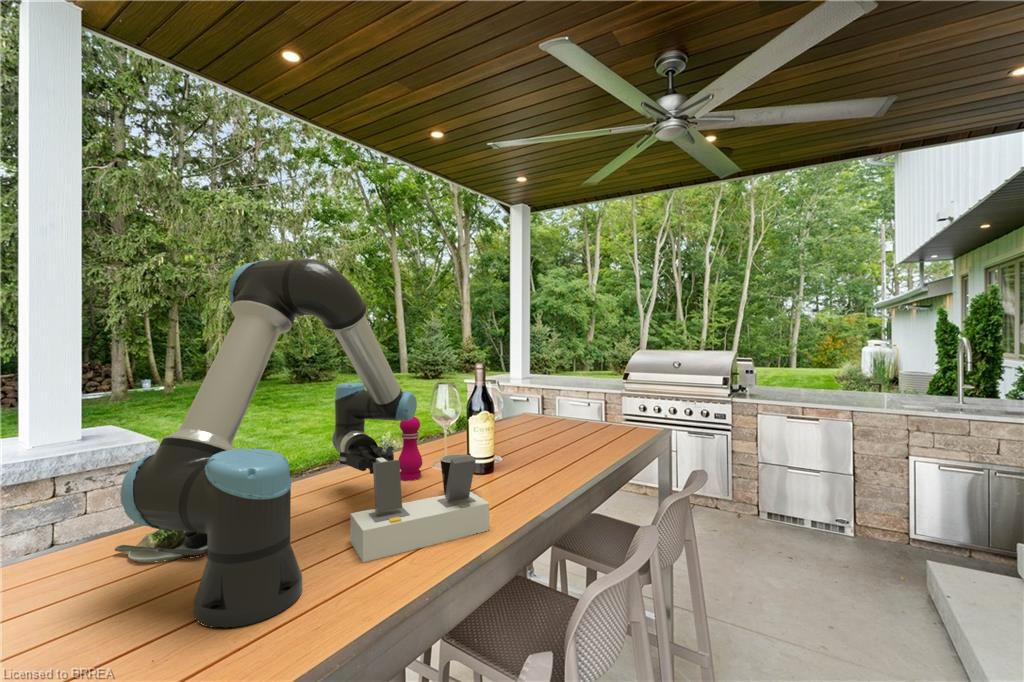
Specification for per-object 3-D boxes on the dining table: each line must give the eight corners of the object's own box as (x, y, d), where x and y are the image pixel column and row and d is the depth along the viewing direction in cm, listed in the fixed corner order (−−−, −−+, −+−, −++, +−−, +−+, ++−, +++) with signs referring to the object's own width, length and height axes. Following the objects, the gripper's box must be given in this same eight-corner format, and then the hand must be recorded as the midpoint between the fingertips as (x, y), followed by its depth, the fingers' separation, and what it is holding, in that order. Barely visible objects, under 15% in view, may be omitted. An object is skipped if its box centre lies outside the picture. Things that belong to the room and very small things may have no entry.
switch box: (363, 562, 87) (362, 528, 87) (350, 542, 96) (350, 511, 96) (489, 530, 101) (489, 500, 101) (468, 515, 110) (468, 488, 110)
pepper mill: (403, 473, 144) (402, 408, 144) (425, 474, 143) (425, 409, 143) (394, 480, 137) (393, 412, 136) (417, 481, 136) (417, 413, 135)
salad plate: (93, 577, 83) (92, 552, 83) (137, 536, 99) (136, 515, 99) (218, 560, 89) (218, 536, 89) (239, 524, 106) (239, 504, 106)
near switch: (377, 512, 93) (375, 463, 94) (375, 511, 94) (372, 463, 96) (402, 507, 95) (399, 460, 97) (399, 506, 97) (396, 459, 98)
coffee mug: (467, 502, 118) (467, 463, 118) (435, 500, 120) (435, 461, 120) (479, 488, 130) (479, 452, 130) (450, 486, 132) (450, 450, 131)
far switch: (448, 501, 100) (454, 463, 97) (444, 496, 102) (451, 459, 99) (468, 497, 103) (475, 460, 100) (465, 492, 104) (472, 455, 102)
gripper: (384, 459, 121) (418, 483, 101) (332, 467, 114) (356, 494, 94) (384, 430, 121) (418, 449, 101) (332, 436, 114) (356, 457, 94)
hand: (388, 471), depth 97 cm, fingers closed
